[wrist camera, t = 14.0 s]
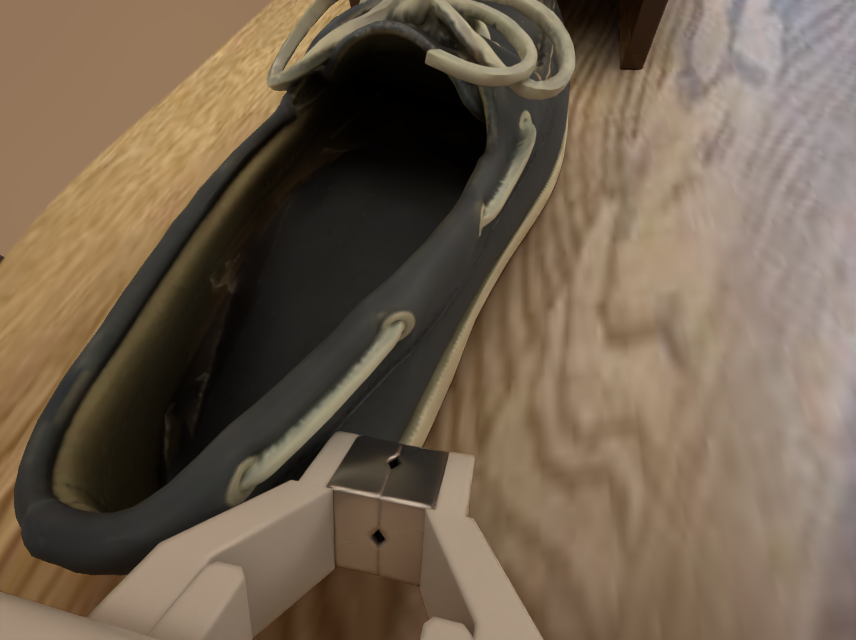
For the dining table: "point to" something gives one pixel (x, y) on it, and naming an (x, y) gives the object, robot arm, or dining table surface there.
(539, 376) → the dining table surface
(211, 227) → the boat shoe
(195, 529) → the robot arm
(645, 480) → the dining table surface
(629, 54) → the dark wooden box
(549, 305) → the dining table surface
